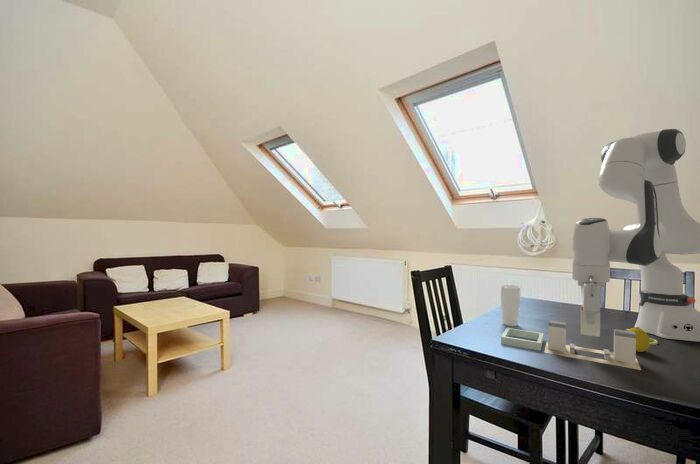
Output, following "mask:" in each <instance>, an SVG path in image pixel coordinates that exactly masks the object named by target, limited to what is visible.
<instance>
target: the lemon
mask: <svg viewBox="0 0 700 464" xmlns="http://www.w3.org/2000/svg"><path fill="white" fill-rule="evenodd" d="M628 329H629V330H628V331H633V332H635V334H636V352H637V353H643V352H645V351H647V350H648V349H649V348H650V345H649V344H650V341H649V338H650V337H649V333H646V332H645V331H644V330H642V329H640V328H639V327H632V328H628Z"/></svg>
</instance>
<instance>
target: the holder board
mask: <svg viewBox="0 0 700 464" xmlns="http://www.w3.org/2000/svg"><path fill="white" fill-rule="evenodd" d="M575 350H576V351H583V352H589V353H594V354H601V355H604V350H601V349H595V348H589V347H583V346H577V345H575ZM609 352H610V360H605V359H602V358H596V357H591V356H586V355H579V354H576V353H575V354H572V353H570V344H566V352H564V351H558V350H553V349H548V341H546V343H545V348H544V351H543V353H545V354H551V355H556V356H560V357H561V356H562V357H568V358H572V359H578V360H583V361H588V362H594V363H599V364H605V365H610V366H617V367H622V368H628V369H634V370H638V371H642V368H641V365H640V363H639V361H638V359H637V358H636V362H635V364H633V363H627V362H621V361H615V360H614V357H613V356H614V351H609Z"/></svg>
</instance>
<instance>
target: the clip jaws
mask: <svg viewBox="0 0 700 464" xmlns="http://www.w3.org/2000/svg"><path fill="white" fill-rule="evenodd" d="M569 345H570V353H572V354H575V355H576V351H575V350H576V349H575V346H576V345H575V343H571V342H570V343H569ZM603 351H604V354H603V358H604V359H603V360H610V352H611V351H610V349H608V348H603Z"/></svg>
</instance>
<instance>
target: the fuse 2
mask: <svg viewBox="0 0 700 464" xmlns="http://www.w3.org/2000/svg"><path fill="white" fill-rule="evenodd" d="M613 352H614V356H613V357H614V360H615V361H621V362H627V363H633V364H635V362H636V359H637V356H636V355H637V353H636V334H635V332H633V331H627V330H626V329H624V330H623V329H616V328H613Z"/></svg>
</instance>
